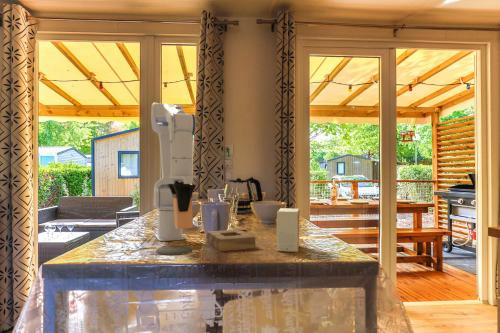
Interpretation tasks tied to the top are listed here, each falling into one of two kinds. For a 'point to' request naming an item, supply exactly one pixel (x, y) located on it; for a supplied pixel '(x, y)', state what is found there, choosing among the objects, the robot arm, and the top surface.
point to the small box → (288, 229)
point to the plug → (182, 215)
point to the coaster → (174, 250)
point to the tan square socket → (230, 240)
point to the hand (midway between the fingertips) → (181, 210)
